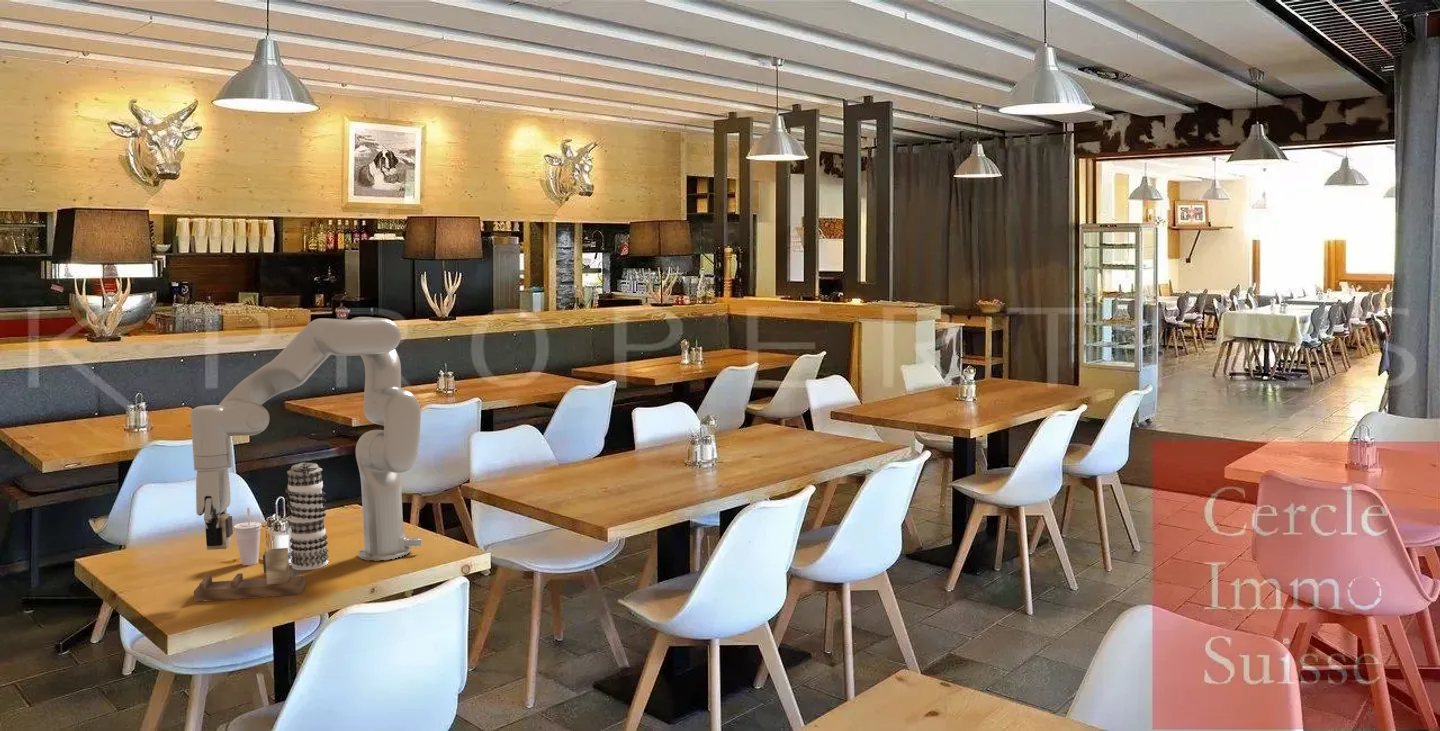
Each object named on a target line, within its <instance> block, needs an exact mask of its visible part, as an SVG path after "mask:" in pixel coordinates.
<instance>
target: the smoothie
mask: <svg viewBox="0 0 1440 731" xmlns="http://www.w3.org/2000/svg"><path fill="white" fill-rule="evenodd" d="M246 512H247V514H246V515H247V521H246V522H241V523H236V524H235V525H234V526H233V532H234V533H235V538H236V542H237V548H238V552H239V557H240V562H241V565H242V566H245V565H248V566H254V565H256V563H257V564H259V554H260V540H261V529H262V527H263V526H262V523H261V522H259V521H251V512H250V507H247V508H246ZM253 564H254V565H253Z"/></svg>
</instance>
